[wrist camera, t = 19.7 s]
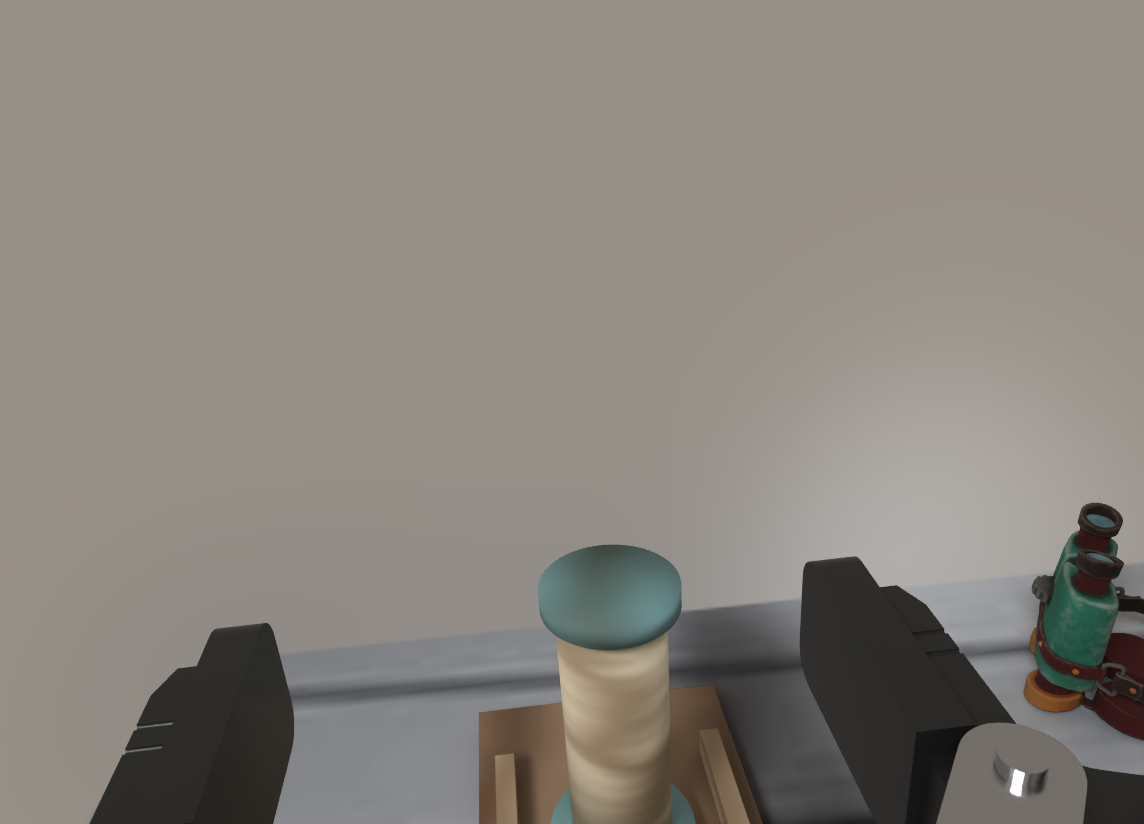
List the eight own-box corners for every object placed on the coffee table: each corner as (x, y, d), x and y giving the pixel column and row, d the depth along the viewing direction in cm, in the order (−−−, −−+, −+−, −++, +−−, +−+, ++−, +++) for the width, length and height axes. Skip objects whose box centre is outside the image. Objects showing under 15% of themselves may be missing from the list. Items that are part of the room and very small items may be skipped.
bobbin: (679, 777, 47) (674, 531, 41) (711, 897, 40) (711, 626, 34) (547, 794, 46) (522, 547, 40) (558, 917, 40) (530, 647, 34)
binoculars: (1281, 624, 42) (1050, 560, 46) (1204, 779, 47) (1000, 709, 51) (1257, 530, 49) (1058, 482, 53) (1191, 673, 54) (1013, 619, 58)
